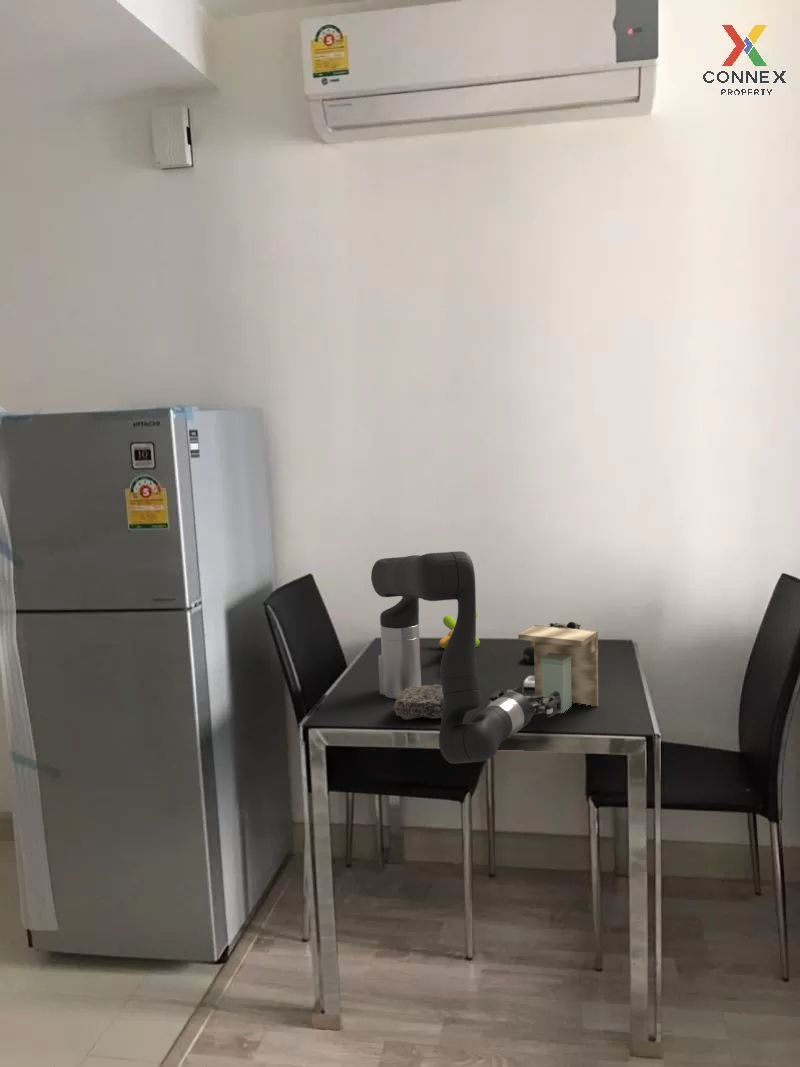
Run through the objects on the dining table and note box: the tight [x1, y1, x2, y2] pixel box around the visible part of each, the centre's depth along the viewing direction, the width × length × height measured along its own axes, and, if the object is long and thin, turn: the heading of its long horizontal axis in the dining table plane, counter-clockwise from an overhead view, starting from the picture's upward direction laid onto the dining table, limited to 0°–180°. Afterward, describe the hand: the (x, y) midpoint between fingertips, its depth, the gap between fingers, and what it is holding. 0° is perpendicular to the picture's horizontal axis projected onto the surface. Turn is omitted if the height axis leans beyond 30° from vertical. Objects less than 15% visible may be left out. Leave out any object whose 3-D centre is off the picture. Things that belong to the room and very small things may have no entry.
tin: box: [541, 653, 573, 714], centre depth 203 cm, size 5×5×12 cm
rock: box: [392, 683, 444, 721], centre depth 203 cm, size 13×6×15 cm
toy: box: [438, 611, 481, 662], centre depth 246 cm, size 13×14×30 cm
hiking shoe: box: [522, 621, 582, 664], centre depth 246 cm, size 8×21×9 cm, turn 129°
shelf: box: [517, 624, 599, 708], centre depth 204 cm, size 15×10×17 cm, turn 58°
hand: (538, 693), depth 194 cm, fingers open, 8 cm apart
